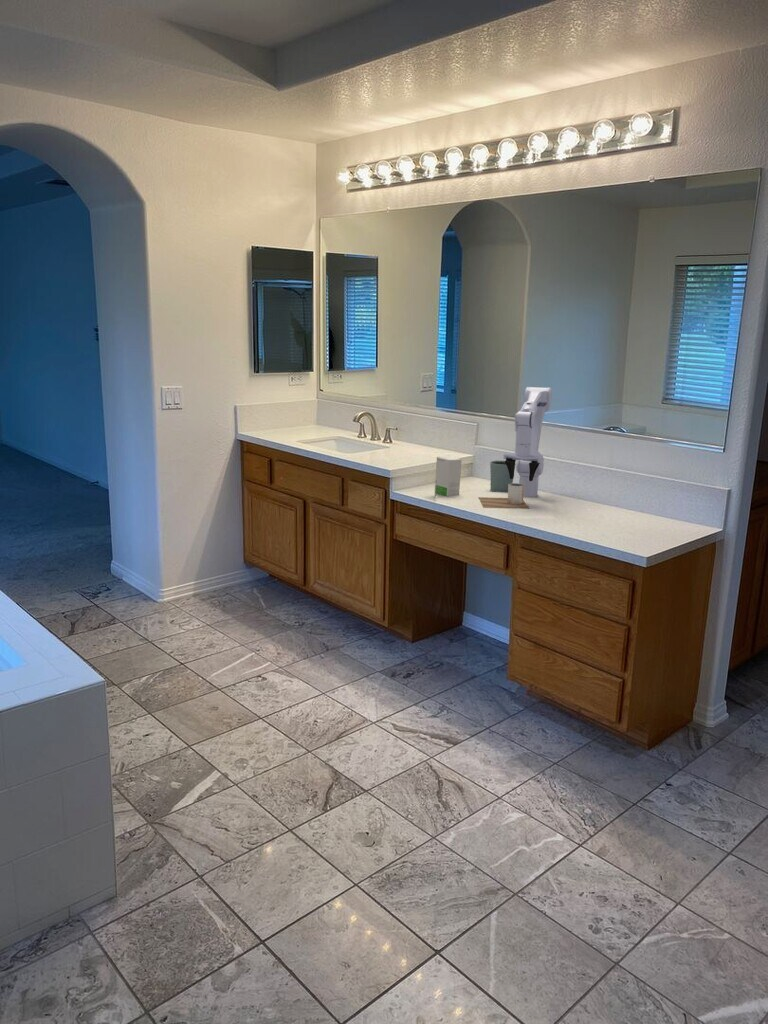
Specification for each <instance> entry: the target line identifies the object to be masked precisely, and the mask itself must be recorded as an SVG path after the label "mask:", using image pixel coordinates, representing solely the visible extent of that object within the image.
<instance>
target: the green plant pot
mask: <svg viewBox="0 0 768 1024" xmlns="http://www.w3.org/2000/svg"><path fill="white" fill-rule="evenodd" d="M505 461H506V460H492V461H490V462H489V463H490V472H489V473H490V483H489V484H490V492H491V491H492V493H508V484H511V483H514V478H513V479H510V475H509V471H508V468H507V465H506V464H505ZM516 464H517V463H515V467H514V471H515V470H516Z"/></svg>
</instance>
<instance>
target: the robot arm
mask: <svg viewBox="0 0 768 1024" xmlns="http://www.w3.org/2000/svg"><path fill="white" fill-rule="evenodd" d="M524 392H525V393H524V401H525V402H524V403H523V405H522V406H521V408H520V410H519V411H518V412H516V413H515V415H514V426H515V427H514V430H515V448H514V453H508V452H507V453H504V454H503V460H504V461H505V464H506V465H507V468H508V471H509V475H510V479H513V480H514V478H515V470H516V472H517V474H518V475H519V480H518V484H523V485H524V494H523V498H524V497H525V498H526V497H527V498H534V497H535V498H536V497H538V498H540V496H539V491H538V490H539V479H540V476H541V475H542V474H543V471H544V463H545V462H544V461H545V457H544V456H543V454H542V453H541V452H539V447H540V446H539V445H540V441H541V436H542V435H541V434H542V428H543V427H542V426H543V422H544V421H543V420H544V416H545V415H546V412H549V411H550V408H551V405H552V399H553V398H552V396H553V390H552V388H551V387H541V386H540V387H539V386H538V387H537V386H536V387H535V386H533V387H532V386H527V387H526V388H525V390H524ZM515 464H516V465H515ZM514 467H515V470H514Z"/></svg>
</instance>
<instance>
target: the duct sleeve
mask: <svg viewBox="0 0 768 1024" xmlns="http://www.w3.org/2000/svg"><path fill="white" fill-rule="evenodd" d="M523 494H524V485H523V484H519V482H517V483H516V482H513V483H511V484H508V492H507V498H508V503H509V504H514V505H519V504H523V500H524V496H523Z"/></svg>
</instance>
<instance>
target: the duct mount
mask: <svg viewBox="0 0 768 1024" xmlns="http://www.w3.org/2000/svg"><path fill="white" fill-rule="evenodd" d="M478 500H479V503H480V505H481V506H482V507H483V509H522V510H524V509H531V508H530V506H529V505H528V504H527V502H526V501H525V500H524V499H523V504H519V505H514V504H509V503H508V497H487V496H486V497H483V496H482V497H481V496H479V497H478Z"/></svg>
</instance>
